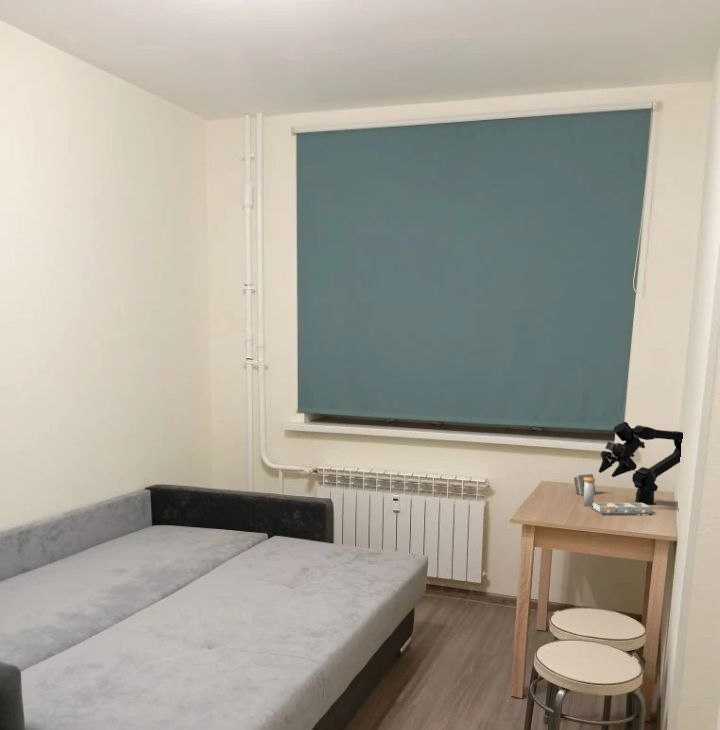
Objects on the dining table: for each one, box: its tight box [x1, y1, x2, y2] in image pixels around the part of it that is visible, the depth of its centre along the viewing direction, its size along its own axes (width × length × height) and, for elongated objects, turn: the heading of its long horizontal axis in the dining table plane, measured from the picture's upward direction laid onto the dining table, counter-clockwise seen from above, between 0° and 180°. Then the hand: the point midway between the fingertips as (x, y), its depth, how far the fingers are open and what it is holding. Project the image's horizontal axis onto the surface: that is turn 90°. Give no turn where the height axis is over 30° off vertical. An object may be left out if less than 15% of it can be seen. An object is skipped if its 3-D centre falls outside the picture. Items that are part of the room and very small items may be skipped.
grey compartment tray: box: [591, 502, 655, 516], centre depth 276 cm, size 22×10×3 cm, turn 95°
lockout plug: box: [583, 477, 596, 508], centre depth 285 cm, size 5×5×12 cm
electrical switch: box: [573, 473, 597, 496], centre depth 309 cm, size 9×5×9 cm, turn 116°
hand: (605, 474), depth 287 cm, fingers open, 9 cm apart
